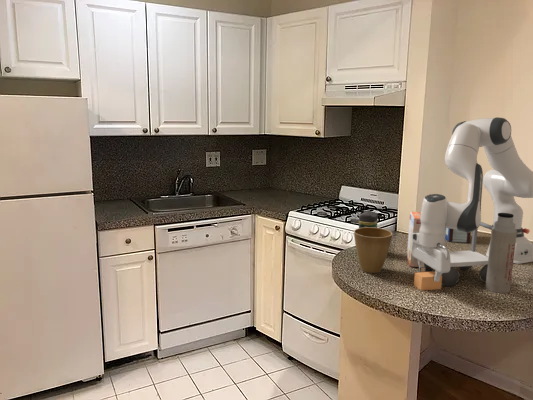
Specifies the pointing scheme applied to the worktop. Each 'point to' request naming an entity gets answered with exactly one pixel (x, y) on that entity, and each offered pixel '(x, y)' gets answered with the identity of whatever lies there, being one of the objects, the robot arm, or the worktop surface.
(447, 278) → the cart
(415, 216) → the cracker box
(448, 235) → the protein box
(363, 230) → the plant pot
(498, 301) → the worktop surface
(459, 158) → the robot arm
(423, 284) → the block
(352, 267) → the worktop surface
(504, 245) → the thermos bottle
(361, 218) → the coffee jar
